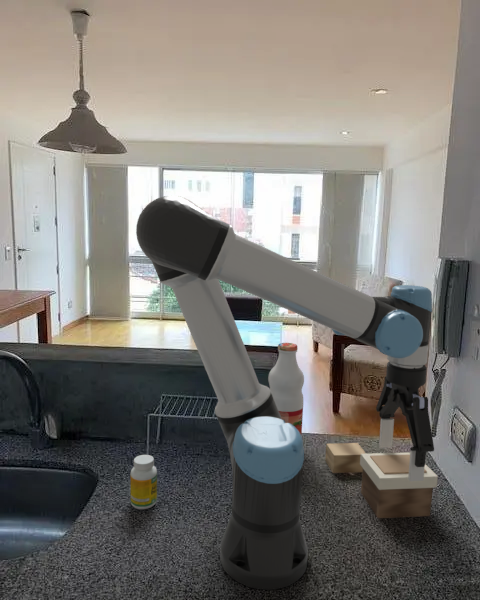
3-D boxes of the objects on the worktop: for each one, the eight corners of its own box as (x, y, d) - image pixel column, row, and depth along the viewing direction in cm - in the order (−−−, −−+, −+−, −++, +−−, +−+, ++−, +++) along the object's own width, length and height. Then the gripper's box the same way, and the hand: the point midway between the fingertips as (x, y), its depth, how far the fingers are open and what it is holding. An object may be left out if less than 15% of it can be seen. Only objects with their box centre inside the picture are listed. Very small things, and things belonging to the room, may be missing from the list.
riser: (332, 475, 109) (334, 455, 108) (325, 462, 115) (326, 443, 114) (365, 474, 110) (366, 454, 109) (356, 461, 116) (357, 442, 115)
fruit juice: (265, 439, 127) (270, 339, 123) (300, 442, 126) (306, 341, 122) (263, 455, 117) (268, 348, 113) (301, 458, 116) (307, 350, 112)
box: (377, 520, 92) (380, 488, 91) (360, 495, 101) (362, 465, 100) (429, 518, 94) (433, 486, 93) (408, 493, 102) (411, 463, 101)
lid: (379, 489, 91) (380, 476, 90) (359, 464, 100) (360, 452, 100) (436, 487, 92) (437, 474, 92) (412, 462, 102) (413, 451, 102)
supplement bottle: (133, 495, 98) (133, 452, 97) (158, 495, 99) (158, 452, 97) (128, 510, 93) (127, 465, 92) (154, 510, 93) (155, 465, 92)
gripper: (461, 383, 81) (450, 495, 84) (396, 347, 105) (390, 435, 109) (420, 384, 80) (411, 497, 83) (364, 347, 104) (359, 436, 108)
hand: (399, 462), depth 96 cm, fingers open, 13 cm apart
